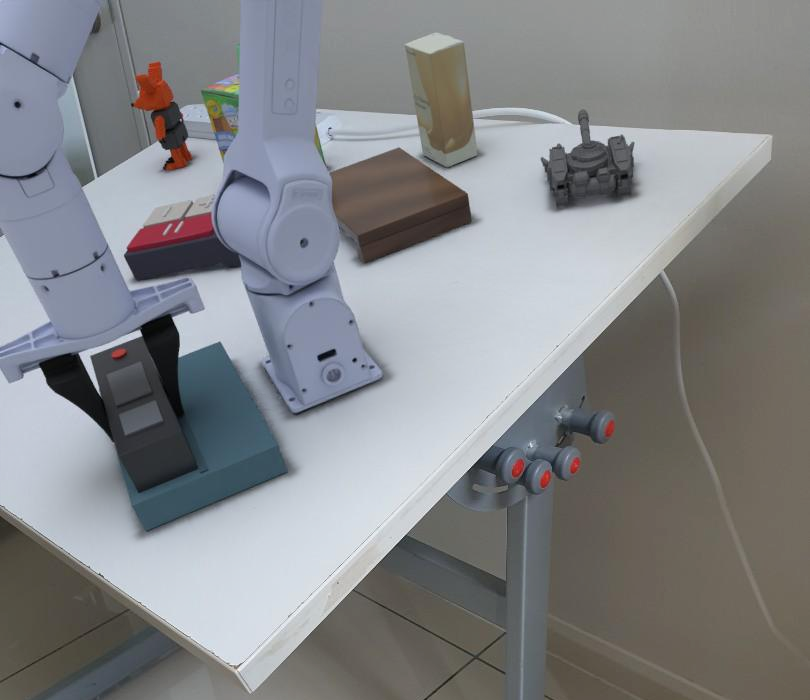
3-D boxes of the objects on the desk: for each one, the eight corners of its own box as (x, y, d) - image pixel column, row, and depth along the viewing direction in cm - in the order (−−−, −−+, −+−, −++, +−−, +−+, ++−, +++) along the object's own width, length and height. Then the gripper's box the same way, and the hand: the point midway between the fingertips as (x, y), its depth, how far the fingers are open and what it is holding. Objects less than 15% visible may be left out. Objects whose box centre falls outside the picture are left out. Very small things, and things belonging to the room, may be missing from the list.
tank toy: (541, 166, 94) (536, 116, 91) (631, 151, 93) (630, 99, 89) (545, 214, 86) (540, 161, 82) (644, 198, 84) (643, 144, 81)
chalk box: (229, 188, 109) (186, 59, 99) (287, 158, 112) (250, 31, 102) (271, 200, 103) (229, 65, 93) (330, 169, 106) (296, 35, 96)
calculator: (152, 204, 99) (273, 177, 95) (168, 239, 102) (286, 215, 98) (118, 249, 92) (248, 222, 88) (136, 286, 94) (264, 261, 91)
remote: (198, 468, 62) (179, 428, 60) (138, 493, 61) (117, 453, 59) (158, 370, 74) (141, 333, 71) (107, 390, 73) (88, 353, 71)
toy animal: (165, 155, 123) (131, 64, 115) (201, 150, 122) (168, 57, 114) (145, 179, 118) (107, 84, 109) (182, 173, 116) (146, 77, 108)
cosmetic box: (421, 155, 104) (401, 43, 95) (453, 143, 105) (435, 30, 96) (448, 169, 99) (428, 52, 91) (480, 155, 100) (464, 38, 92)
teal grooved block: (288, 471, 64) (277, 443, 62) (146, 531, 62) (130, 504, 60) (229, 365, 77) (219, 339, 75) (110, 412, 75) (97, 386, 73)
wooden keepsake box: (472, 222, 88) (468, 193, 86) (364, 264, 86) (357, 235, 84) (404, 173, 101) (399, 146, 99) (309, 208, 99) (301, 182, 97)
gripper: (159, 203, 62) (223, 364, 71) (-42, 274, 60) (51, 432, 69) (178, 235, 57) (244, 405, 66) (-40, 315, 55) (60, 479, 64)
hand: (147, 422), depth 67 cm, fingers closed on remote, 4 cm apart
